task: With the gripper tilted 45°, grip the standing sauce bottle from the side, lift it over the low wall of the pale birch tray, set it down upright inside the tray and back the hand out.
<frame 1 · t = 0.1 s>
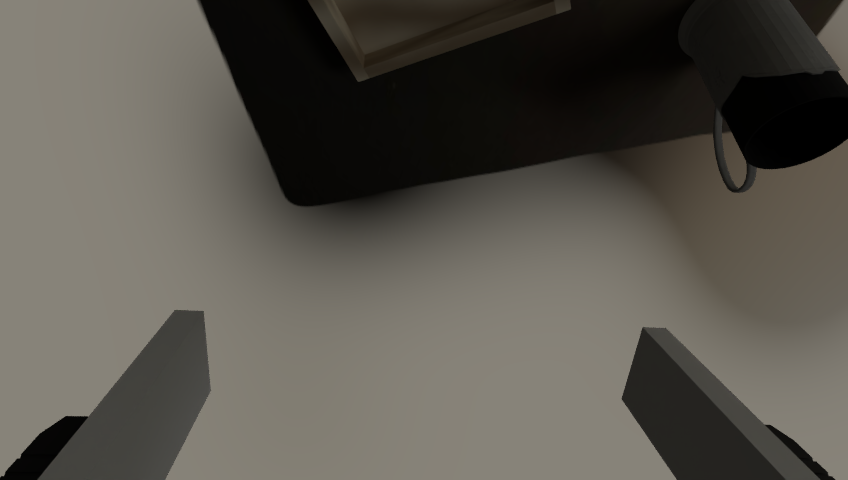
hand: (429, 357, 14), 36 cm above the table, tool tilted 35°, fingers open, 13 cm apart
glass holder: (717, 43, 46), on the table
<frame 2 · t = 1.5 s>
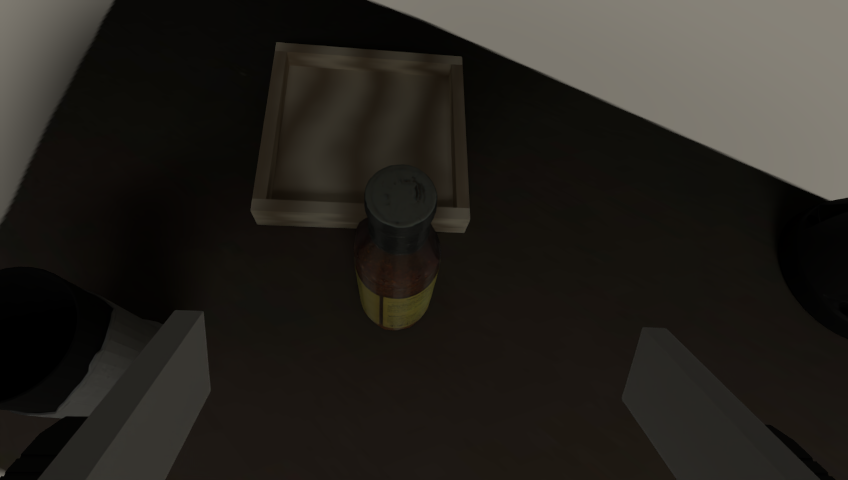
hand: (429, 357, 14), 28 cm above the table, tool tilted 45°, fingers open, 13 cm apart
birch tray: (367, 142, 50), on the table
sauce bottle: (392, 299, 44), on the table
glass holder: (100, 362, 39), on the table
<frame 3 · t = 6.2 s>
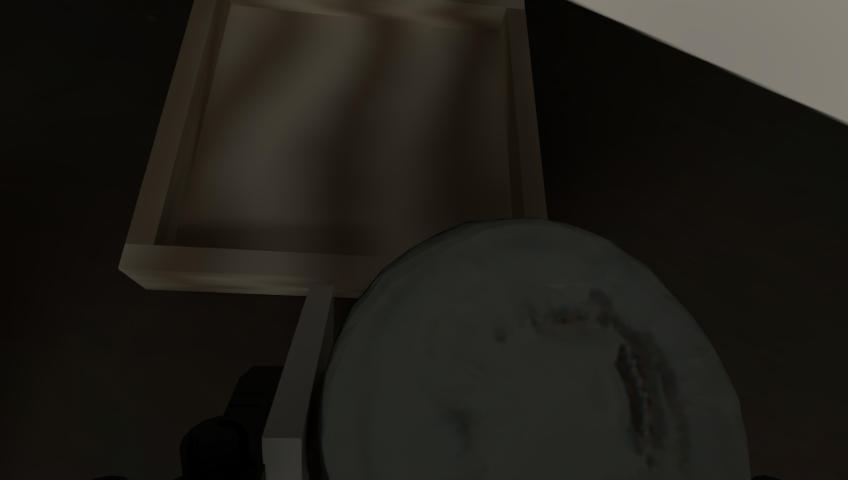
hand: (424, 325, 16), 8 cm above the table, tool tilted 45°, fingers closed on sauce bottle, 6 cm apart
birch tray: (360, 138, 29), on the table
sauce bottle: (402, 444, 22), on the table, touching gripper
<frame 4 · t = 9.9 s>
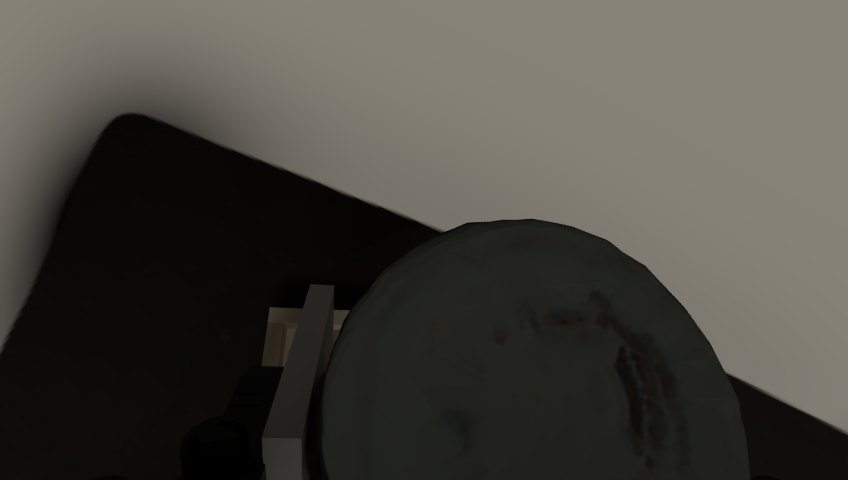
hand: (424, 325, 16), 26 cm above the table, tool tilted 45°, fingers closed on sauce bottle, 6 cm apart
birch tray: (388, 444, 38), on the table
sauce bottle: (402, 444, 22), point 17 cm above the table, touching gripper
when the fingers open (11 cm above the table, at t = 13.5 s): sauce bottle drops 1 cm, resting on birch tray.
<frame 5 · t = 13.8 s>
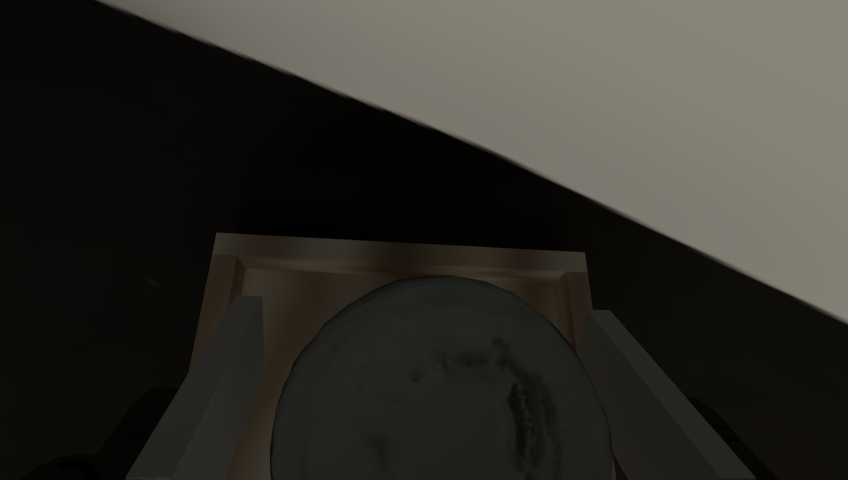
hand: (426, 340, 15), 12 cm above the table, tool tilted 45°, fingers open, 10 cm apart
birch tray: (399, 444, 24), on the table
sauce bottle: (399, 446, 24), point 1 cm above the table, touching birch tray
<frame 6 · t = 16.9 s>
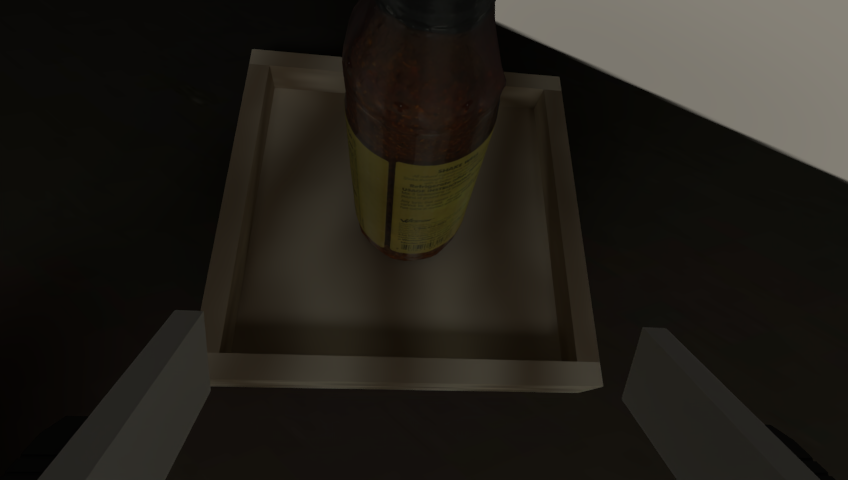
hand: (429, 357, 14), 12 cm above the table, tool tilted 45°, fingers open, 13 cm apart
birch tray: (404, 222, 30), on the table
sauce bottle: (404, 218, 29), point 1 cm above the table, touching birch tray
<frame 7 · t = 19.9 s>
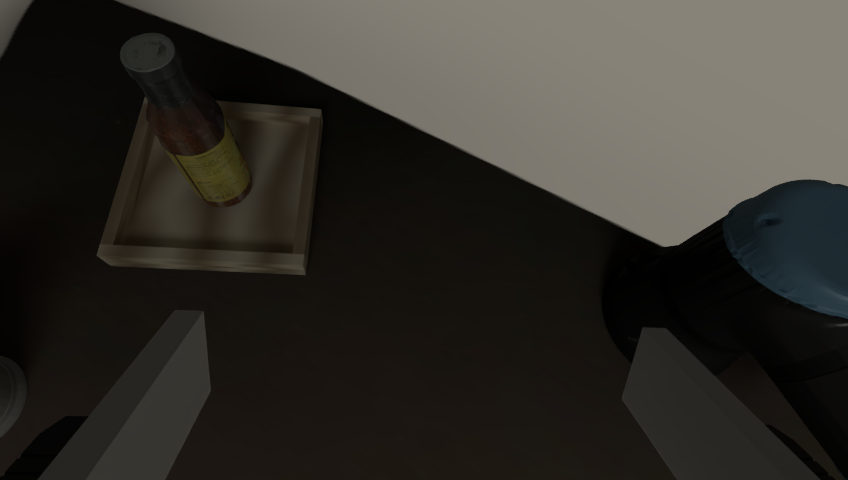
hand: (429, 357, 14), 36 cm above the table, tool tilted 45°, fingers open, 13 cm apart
birch tray: (227, 188, 55), on the table
sauce bottle: (224, 186, 54), point 1 cm above the table, touching birch tray
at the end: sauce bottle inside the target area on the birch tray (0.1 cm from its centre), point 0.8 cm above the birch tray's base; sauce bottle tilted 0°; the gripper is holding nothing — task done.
